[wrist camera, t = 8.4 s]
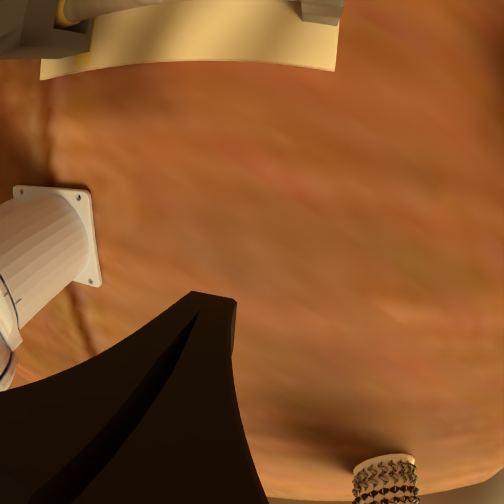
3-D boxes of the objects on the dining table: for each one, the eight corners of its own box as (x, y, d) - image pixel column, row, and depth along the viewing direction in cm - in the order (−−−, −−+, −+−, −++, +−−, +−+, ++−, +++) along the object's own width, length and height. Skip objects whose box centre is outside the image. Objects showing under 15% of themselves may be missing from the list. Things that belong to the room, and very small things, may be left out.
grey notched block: (58, 59, 14) (-10, 60, 9) (69, -10, 12) (7, -24, 6) (89, 51, 14) (19, 46, 9) (101, -21, 12) (40, -43, 6)
